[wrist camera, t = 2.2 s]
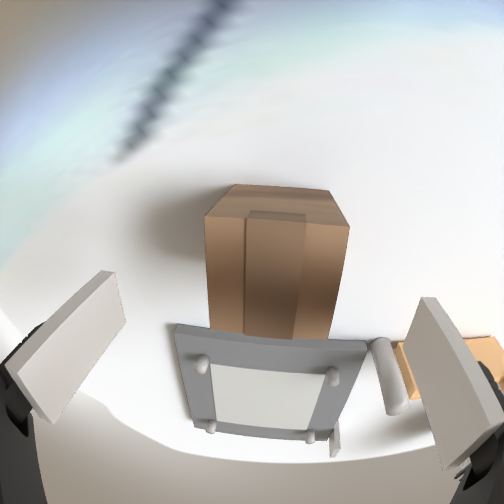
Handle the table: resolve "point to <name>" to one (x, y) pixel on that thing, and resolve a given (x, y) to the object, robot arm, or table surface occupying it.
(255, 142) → the table surface
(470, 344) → the lid gate
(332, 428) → the housing
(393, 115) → the table surface
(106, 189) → the table surface
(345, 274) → the table surface
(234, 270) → the walnut block
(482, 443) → the robot arm
